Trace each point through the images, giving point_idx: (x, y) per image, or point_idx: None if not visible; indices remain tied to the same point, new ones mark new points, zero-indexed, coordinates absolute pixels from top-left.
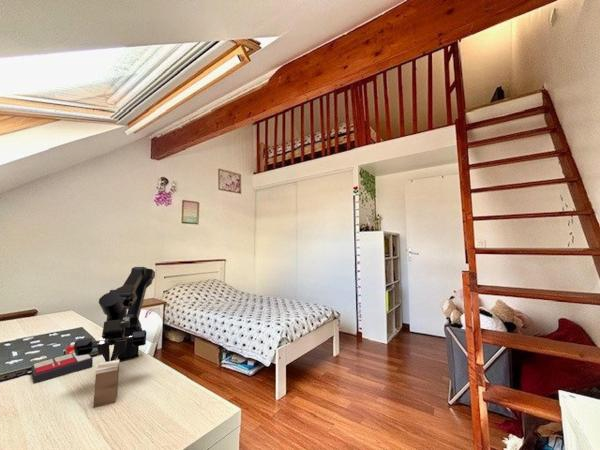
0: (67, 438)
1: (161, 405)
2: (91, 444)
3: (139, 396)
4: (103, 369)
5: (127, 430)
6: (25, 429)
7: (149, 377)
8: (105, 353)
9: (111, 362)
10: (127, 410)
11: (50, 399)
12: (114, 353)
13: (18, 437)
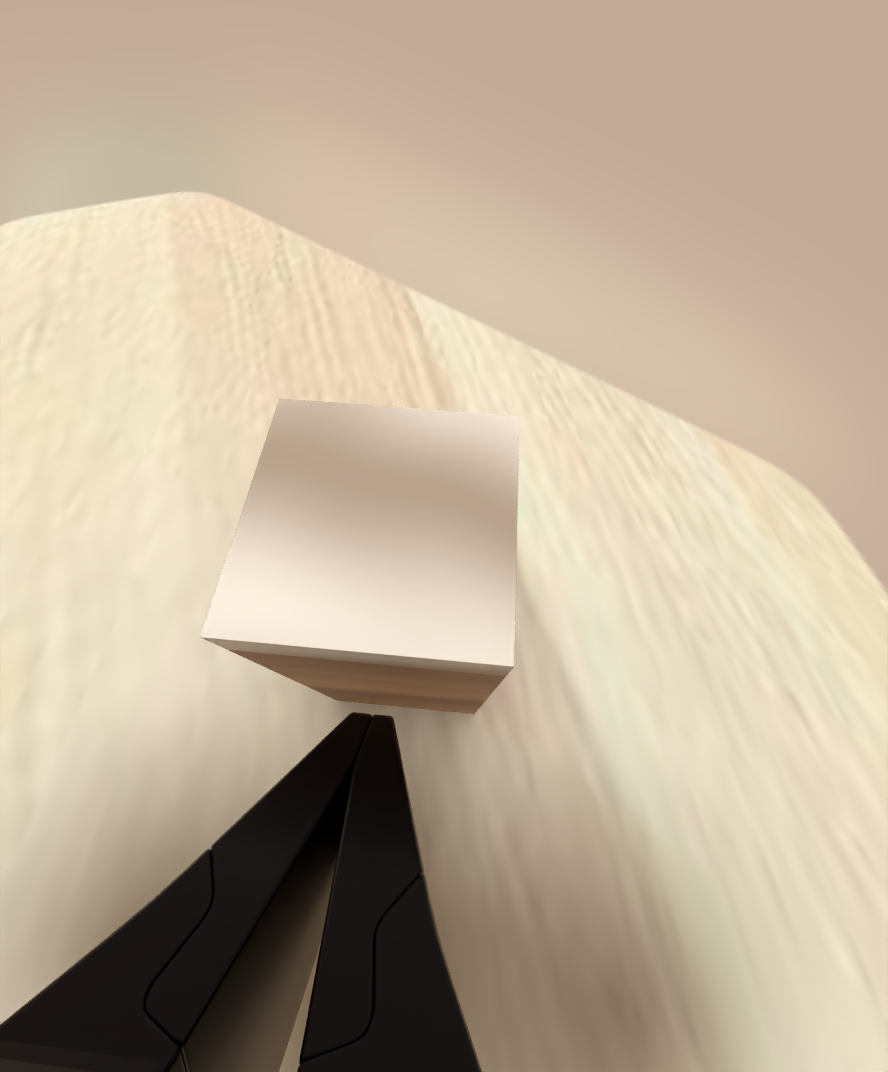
0: (552, 385)
1: (166, 400)
2: (459, 312)
3: (222, 558)
4: (436, 411)
5: (340, 318)
6: (787, 562)
7: (30, 881)
8: (414, 980)
9: (330, 581)
10: None
11: (858, 986)
12: (203, 899)
13: (778, 505)
